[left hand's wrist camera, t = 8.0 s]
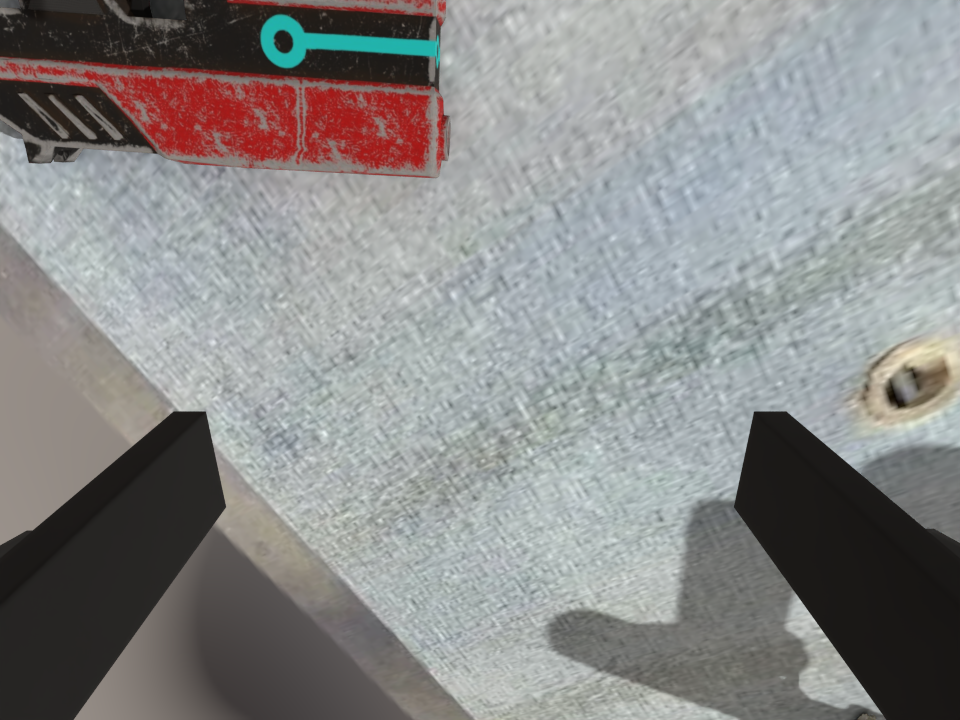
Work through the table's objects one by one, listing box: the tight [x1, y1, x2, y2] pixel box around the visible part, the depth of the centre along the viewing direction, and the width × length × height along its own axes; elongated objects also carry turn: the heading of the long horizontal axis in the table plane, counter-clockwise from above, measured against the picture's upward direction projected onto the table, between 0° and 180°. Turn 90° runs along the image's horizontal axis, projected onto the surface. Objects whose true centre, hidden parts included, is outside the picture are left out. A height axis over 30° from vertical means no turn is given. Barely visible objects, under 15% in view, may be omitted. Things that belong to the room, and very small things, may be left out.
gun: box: [0, 0, 450, 178], centre depth 34 cm, size 4×31×19 cm
